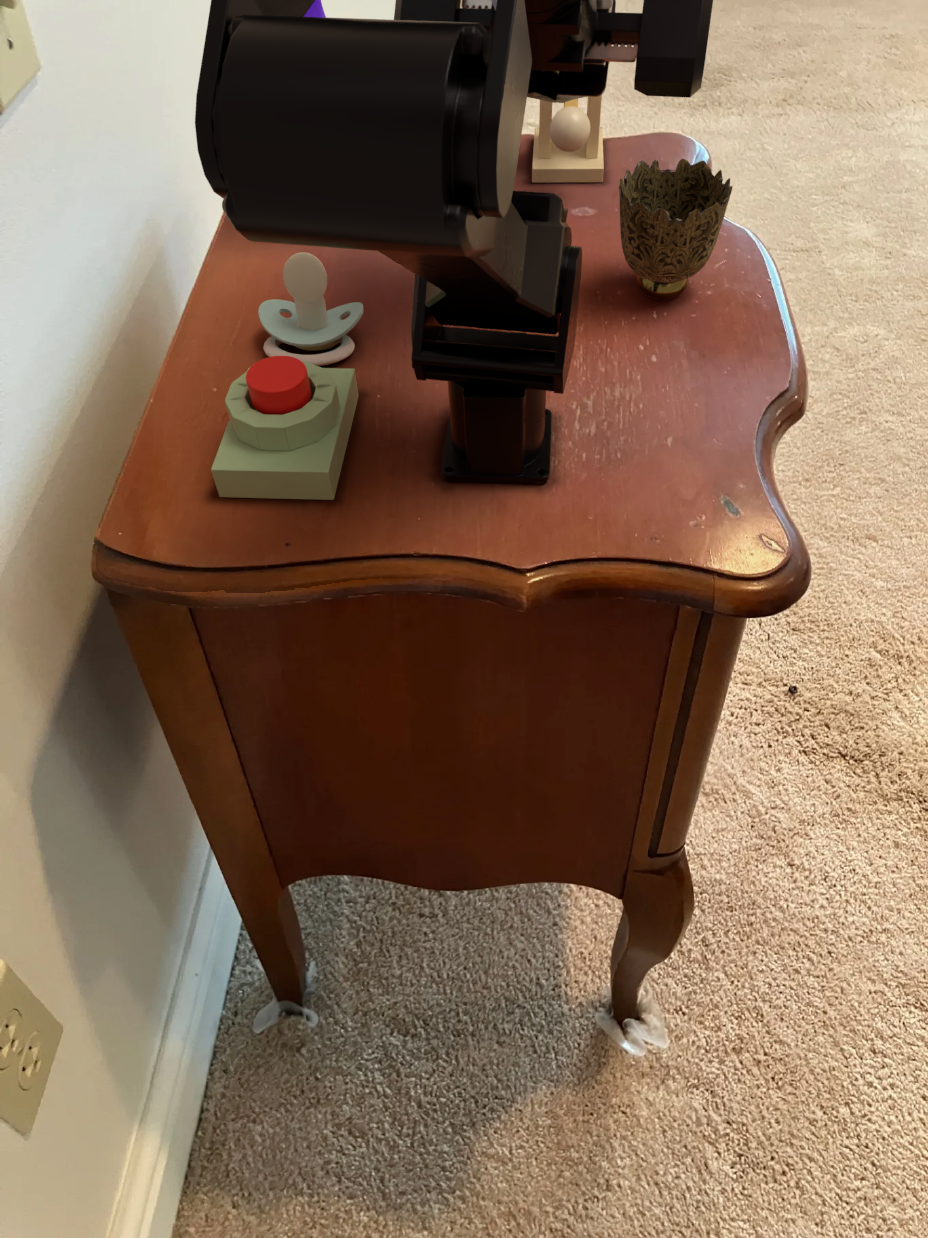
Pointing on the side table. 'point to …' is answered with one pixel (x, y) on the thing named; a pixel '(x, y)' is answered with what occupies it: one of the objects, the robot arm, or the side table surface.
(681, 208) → the cup
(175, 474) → the side table surface
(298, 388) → the alarm button
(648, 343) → the side table surface
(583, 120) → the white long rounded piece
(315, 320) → the pacifier
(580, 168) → the egg display stand
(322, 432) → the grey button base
